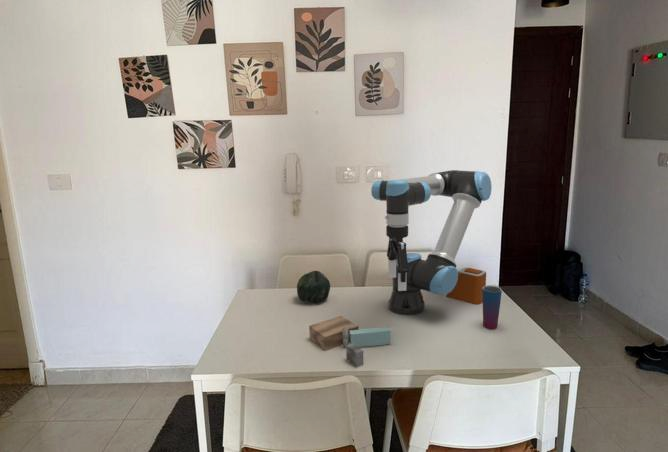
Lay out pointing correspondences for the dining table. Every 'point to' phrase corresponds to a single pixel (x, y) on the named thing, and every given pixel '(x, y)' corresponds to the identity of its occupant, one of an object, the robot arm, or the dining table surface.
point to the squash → (313, 287)
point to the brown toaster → (469, 286)
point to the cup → (491, 306)
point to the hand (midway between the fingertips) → (397, 283)
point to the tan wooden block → (337, 337)
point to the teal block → (370, 337)
